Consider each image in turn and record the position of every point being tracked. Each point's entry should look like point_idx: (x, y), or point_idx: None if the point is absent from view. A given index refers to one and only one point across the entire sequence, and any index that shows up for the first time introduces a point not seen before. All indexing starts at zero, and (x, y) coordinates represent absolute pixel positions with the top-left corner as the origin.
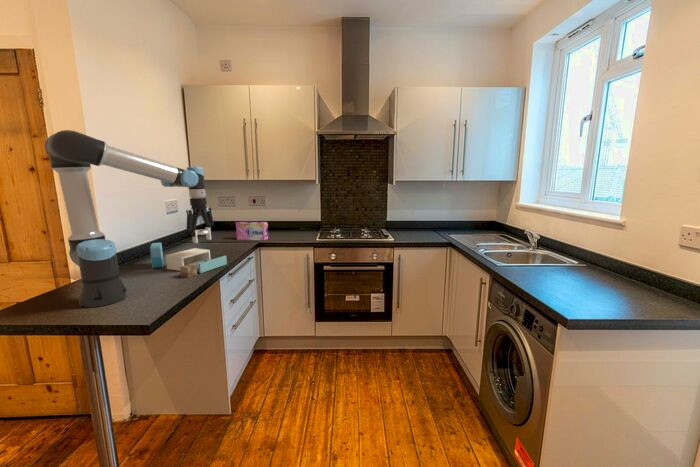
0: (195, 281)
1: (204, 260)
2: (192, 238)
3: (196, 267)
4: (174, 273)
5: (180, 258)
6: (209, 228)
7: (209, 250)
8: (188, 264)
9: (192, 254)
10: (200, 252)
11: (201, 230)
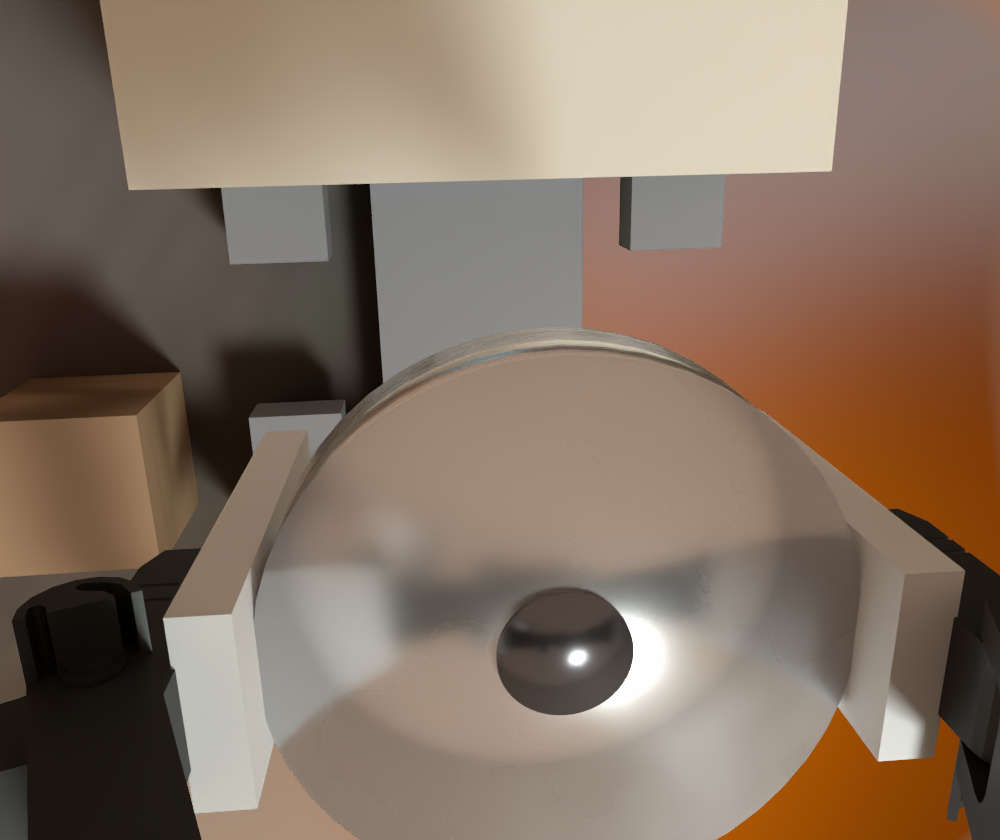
0: (25, 691)
1: None
2: (240, 478)
3: (254, 437)
4: (62, 149)
5: (131, 146)
6: (880, 737)
7: (820, 170)
8: (114, 435)
9: (405, 167)
10: (595, 176)
11: (558, 673)
